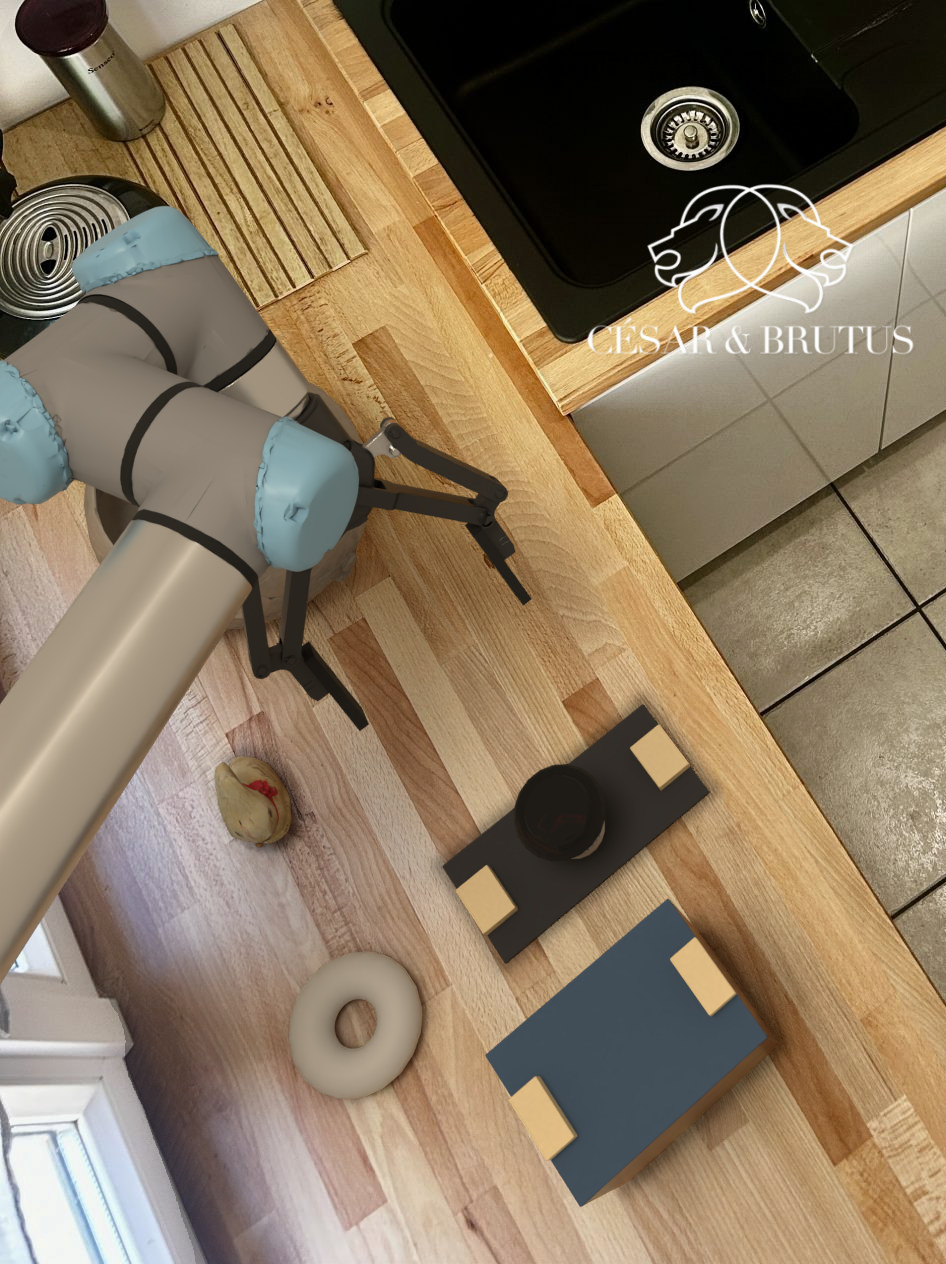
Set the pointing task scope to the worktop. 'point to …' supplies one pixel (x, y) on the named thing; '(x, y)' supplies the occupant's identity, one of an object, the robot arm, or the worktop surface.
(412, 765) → the worktop surface
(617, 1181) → the stand
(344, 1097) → the donut
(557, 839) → the coffee cup
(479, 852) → the mat
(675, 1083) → the blue slab
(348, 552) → the bowl
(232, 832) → the tan rounded lumpy piece
